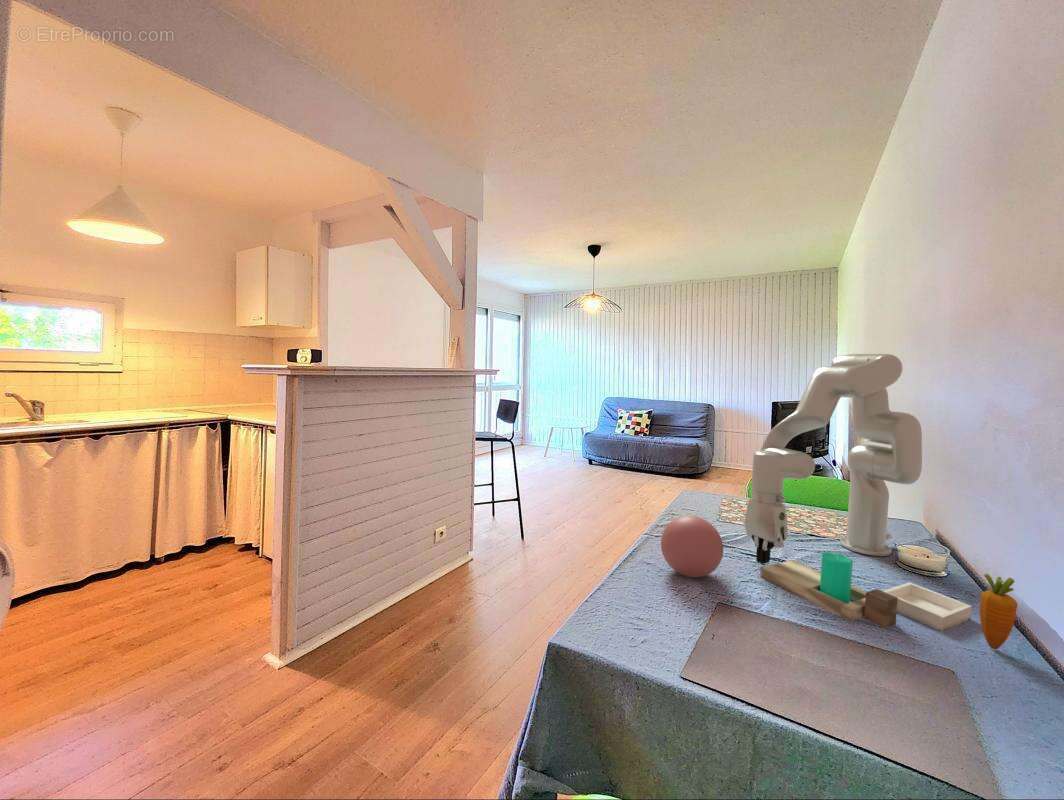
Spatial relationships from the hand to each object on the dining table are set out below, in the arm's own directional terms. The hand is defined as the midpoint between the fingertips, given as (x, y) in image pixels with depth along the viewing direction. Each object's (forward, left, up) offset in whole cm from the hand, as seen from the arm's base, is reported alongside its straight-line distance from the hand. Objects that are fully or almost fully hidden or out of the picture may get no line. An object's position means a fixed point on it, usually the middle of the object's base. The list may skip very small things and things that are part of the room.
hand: (762, 561), depth 123 cm
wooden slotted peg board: (0, +15, -1) cm, 15 cm away
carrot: (-10, +43, -1) cm, 45 cm away
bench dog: (0, +29, -1) cm, 29 cm away
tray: (-14, +30, -1) cm, 33 cm away
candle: (0, +19, -1) cm, 19 cm away
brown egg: (+20, -5, -1) cm, 21 cm away
